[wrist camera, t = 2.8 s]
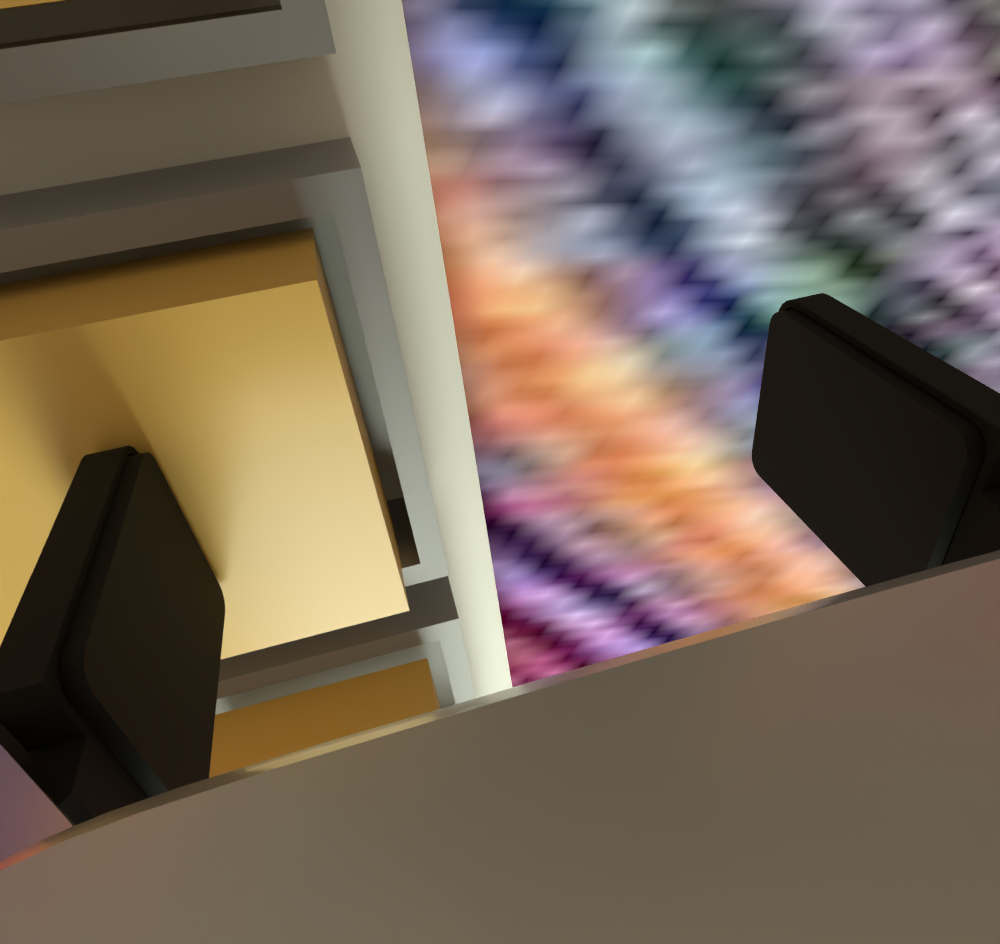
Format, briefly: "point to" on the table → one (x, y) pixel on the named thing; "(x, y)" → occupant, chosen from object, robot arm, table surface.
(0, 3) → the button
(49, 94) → the strip
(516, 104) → the table surface
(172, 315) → the button middle
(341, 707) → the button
